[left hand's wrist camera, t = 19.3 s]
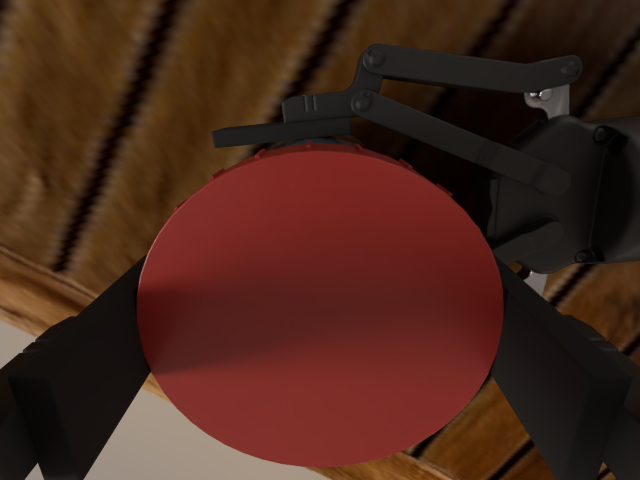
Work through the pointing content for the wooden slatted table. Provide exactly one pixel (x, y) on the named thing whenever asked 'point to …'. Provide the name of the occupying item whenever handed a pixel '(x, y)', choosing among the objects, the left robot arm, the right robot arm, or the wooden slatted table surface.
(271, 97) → the wooden slatted table surface
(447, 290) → the lid
